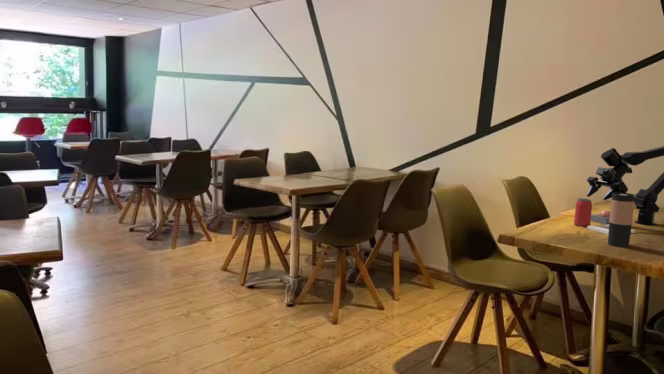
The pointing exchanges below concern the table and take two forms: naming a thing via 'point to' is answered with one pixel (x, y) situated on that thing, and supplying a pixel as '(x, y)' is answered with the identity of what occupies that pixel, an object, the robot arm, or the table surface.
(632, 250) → the table surface
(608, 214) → the button
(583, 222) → the beer can
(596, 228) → the paper card
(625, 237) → the travel mug
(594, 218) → the grey square frame
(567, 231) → the table surface
